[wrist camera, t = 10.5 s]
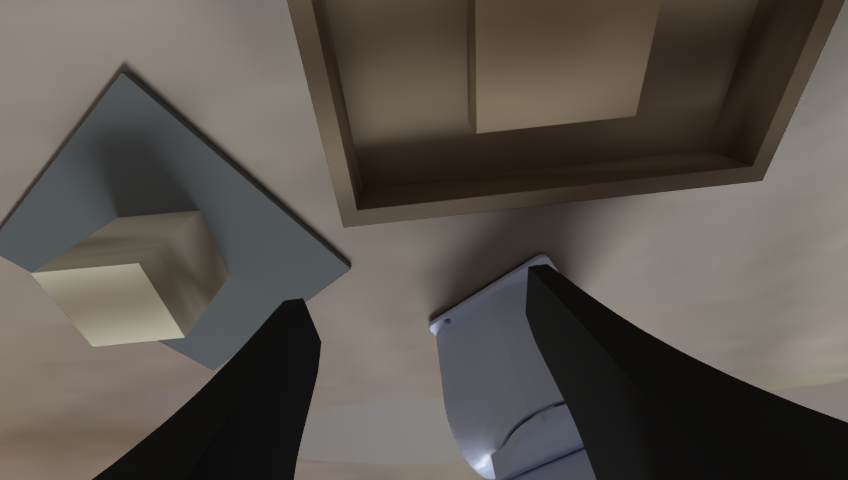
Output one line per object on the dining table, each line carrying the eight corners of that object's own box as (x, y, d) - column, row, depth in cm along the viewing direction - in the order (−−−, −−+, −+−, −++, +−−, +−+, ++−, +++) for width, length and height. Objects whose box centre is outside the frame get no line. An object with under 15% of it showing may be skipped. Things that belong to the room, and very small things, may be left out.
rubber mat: (215, 365, 25) (213, 370, 25) (-6, 244, 19) (-14, 248, 19) (351, 265, 21) (350, 269, 21) (128, 71, 15) (121, 72, 15)
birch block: (229, 275, 20) (185, 337, 16) (156, 281, 20) (92, 346, 16) (199, 210, 18) (138, 263, 14) (117, 217, 18) (30, 273, 14)
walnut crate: (704, 158, 19) (762, 180, 16) (352, 197, 19) (343, 227, 16) (842, -235, 12) (995, -329, 9) (269, -176, 12) (224, -251, 9)
